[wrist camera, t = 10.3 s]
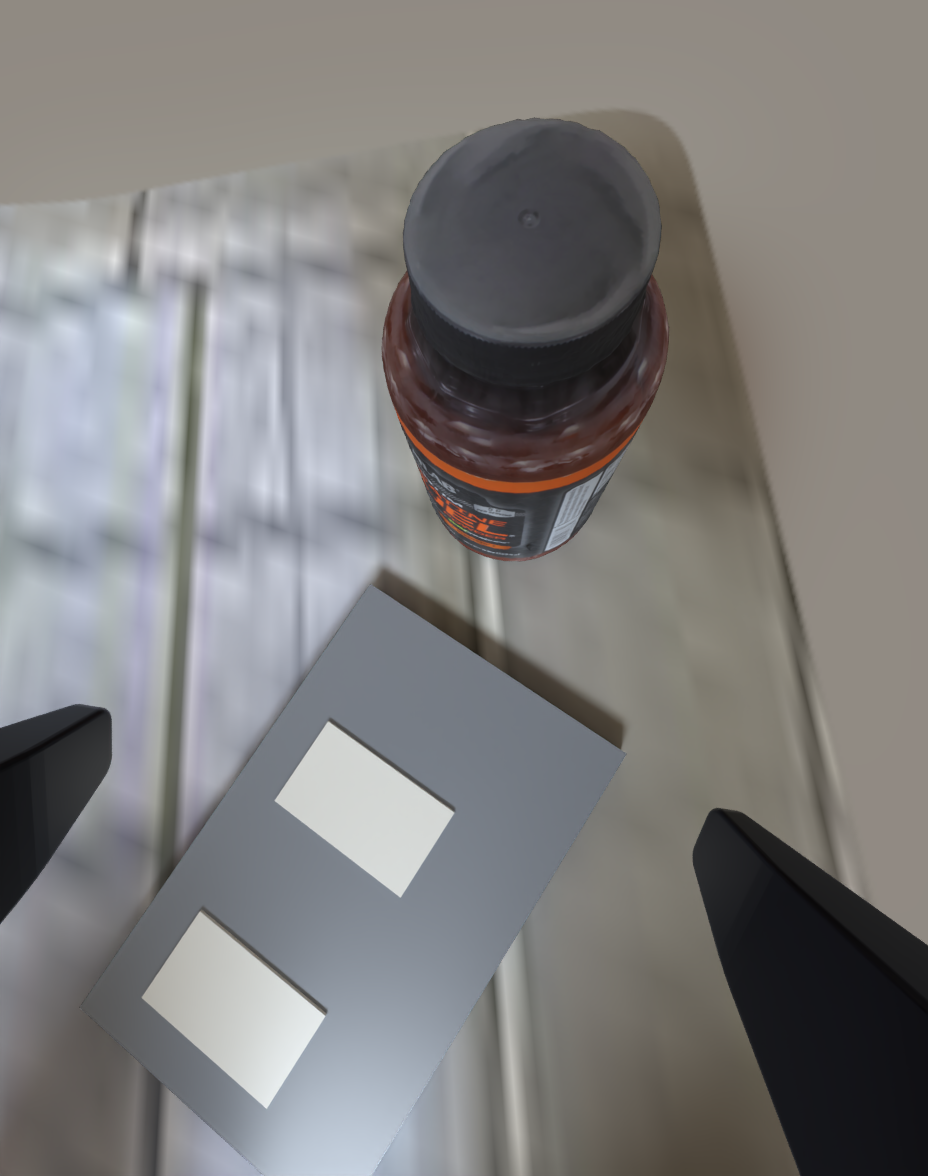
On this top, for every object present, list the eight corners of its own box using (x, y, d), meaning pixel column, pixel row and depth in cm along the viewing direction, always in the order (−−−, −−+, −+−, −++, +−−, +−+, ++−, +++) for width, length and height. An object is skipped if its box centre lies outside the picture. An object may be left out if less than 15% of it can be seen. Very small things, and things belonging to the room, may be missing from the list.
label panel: (621, 750, 17) (627, 754, 16) (341, 1211, 16) (331, 1244, 15) (375, 587, 19) (369, 583, 18) (98, 992, 17) (76, 1009, 16)
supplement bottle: (399, 508, 19) (255, 272, 8) (492, 382, 20) (476, 1, 9) (536, 599, 18) (585, 475, 7) (628, 464, 19) (809, 154, 8)
